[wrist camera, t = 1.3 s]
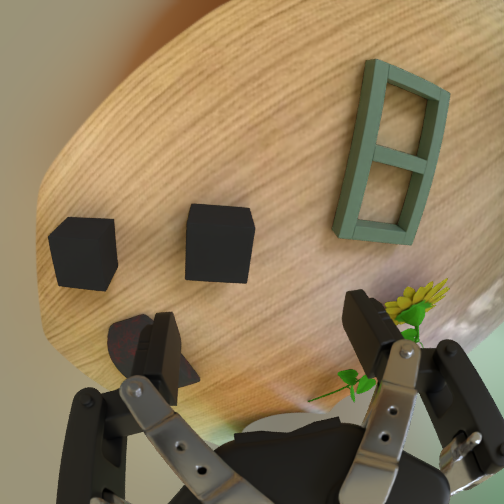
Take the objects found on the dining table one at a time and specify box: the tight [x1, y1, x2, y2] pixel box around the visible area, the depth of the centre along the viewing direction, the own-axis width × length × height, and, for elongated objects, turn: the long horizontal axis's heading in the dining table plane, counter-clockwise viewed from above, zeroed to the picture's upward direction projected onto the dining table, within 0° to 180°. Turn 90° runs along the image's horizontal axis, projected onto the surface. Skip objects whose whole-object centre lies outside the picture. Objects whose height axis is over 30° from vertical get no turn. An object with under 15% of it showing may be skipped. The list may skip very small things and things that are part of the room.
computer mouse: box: [107, 314, 200, 388], centre depth 33 cm, size 8×14×4 cm, turn 19°
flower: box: [308, 278, 450, 402], centre depth 36 cm, size 12×9×30 cm
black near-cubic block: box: [185, 204, 255, 284], centre depth 26 cm, size 5×5×4 cm
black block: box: [48, 217, 118, 292], centre depth 25 cm, size 5×5×4 cm
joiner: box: [332, 59, 450, 245], centre depth 25 cm, size 10×18×2 cm, turn 172°
